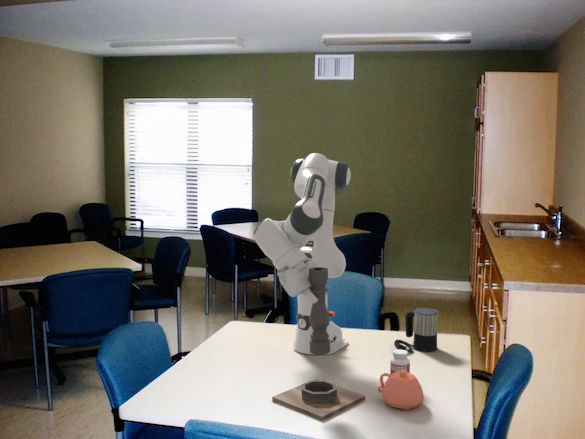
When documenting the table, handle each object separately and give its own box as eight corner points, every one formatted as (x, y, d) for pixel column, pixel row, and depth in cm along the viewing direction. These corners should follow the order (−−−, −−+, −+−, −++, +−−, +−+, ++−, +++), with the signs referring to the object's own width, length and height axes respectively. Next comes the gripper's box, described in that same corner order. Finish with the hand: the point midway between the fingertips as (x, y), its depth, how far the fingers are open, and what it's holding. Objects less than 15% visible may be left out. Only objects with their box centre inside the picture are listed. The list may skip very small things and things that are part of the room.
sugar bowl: (414, 416, 177) (415, 381, 176) (369, 405, 185) (370, 372, 183) (429, 401, 188) (430, 368, 186) (386, 391, 195) (386, 360, 194)
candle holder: (329, 354, 183) (327, 271, 180) (308, 354, 184) (306, 271, 181) (331, 348, 189) (329, 267, 186) (311, 347, 190) (309, 267, 187)
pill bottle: (402, 380, 204) (402, 347, 203) (413, 386, 199) (414, 353, 197) (386, 383, 202) (386, 350, 200) (397, 389, 196) (398, 356, 195)
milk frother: (441, 347, 237) (442, 309, 235) (426, 359, 224) (427, 319, 222) (406, 341, 245) (407, 304, 243) (390, 352, 232) (390, 313, 230)
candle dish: (316, 382, 202) (316, 369, 202) (365, 399, 189) (365, 386, 188) (272, 400, 188) (272, 387, 187) (322, 420, 174) (322, 406, 174)
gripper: (281, 263, 177) (311, 301, 174) (313, 252, 195) (341, 286, 192) (268, 277, 180) (297, 314, 177) (300, 265, 198) (328, 298, 194)
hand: (321, 299), depth 184 cm, fingers closed on candle holder, 4 cm apart
